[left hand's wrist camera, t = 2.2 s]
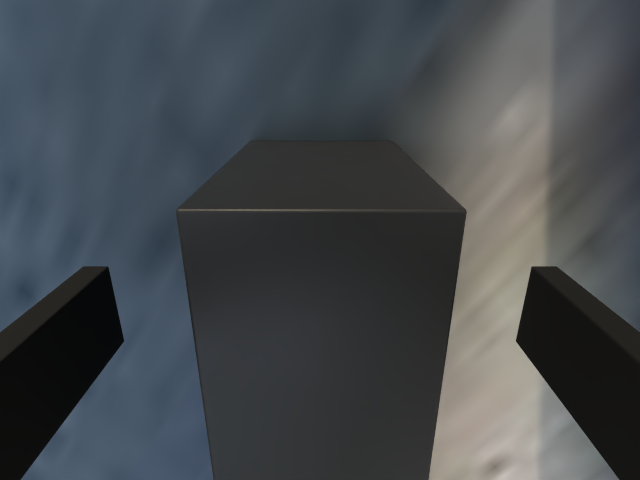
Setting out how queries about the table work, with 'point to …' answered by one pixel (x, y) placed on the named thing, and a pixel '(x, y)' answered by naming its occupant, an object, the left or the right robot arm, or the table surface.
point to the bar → (321, 309)
